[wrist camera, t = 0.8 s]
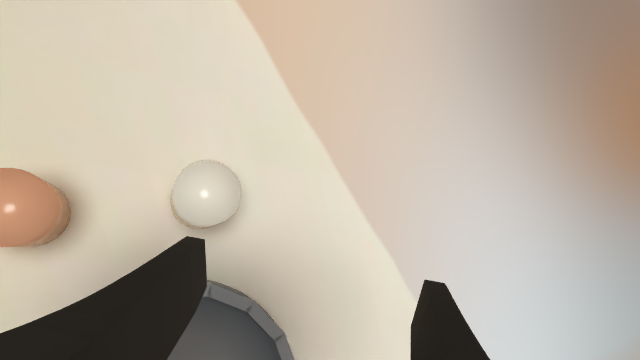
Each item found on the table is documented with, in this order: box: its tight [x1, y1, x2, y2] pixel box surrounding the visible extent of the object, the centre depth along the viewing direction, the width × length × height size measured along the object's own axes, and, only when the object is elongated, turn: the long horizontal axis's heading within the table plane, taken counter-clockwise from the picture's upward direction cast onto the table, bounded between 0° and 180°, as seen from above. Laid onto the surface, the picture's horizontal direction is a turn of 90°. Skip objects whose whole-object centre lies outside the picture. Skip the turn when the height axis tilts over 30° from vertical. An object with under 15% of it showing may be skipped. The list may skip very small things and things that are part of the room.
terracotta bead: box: [0, 168, 71, 247], centre depth 22 cm, size 4×4×5 cm
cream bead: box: [170, 160, 241, 229], centre depth 26 cm, size 4×4×5 cm
